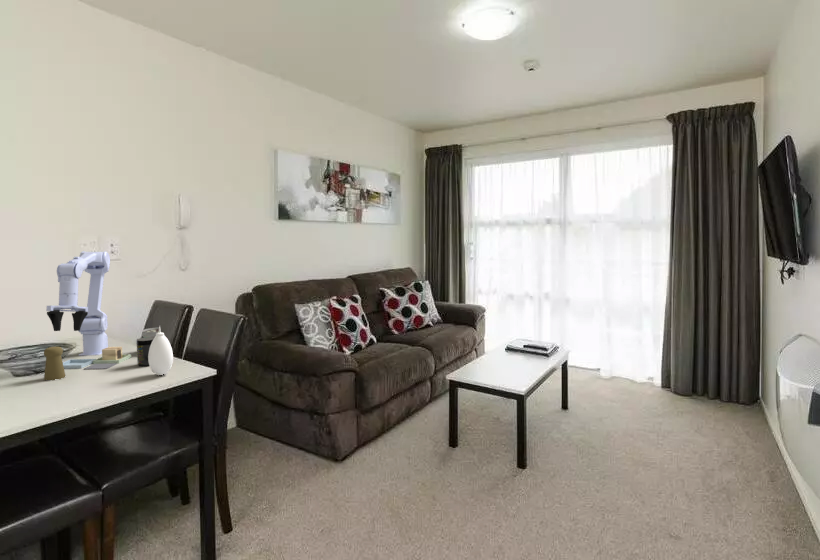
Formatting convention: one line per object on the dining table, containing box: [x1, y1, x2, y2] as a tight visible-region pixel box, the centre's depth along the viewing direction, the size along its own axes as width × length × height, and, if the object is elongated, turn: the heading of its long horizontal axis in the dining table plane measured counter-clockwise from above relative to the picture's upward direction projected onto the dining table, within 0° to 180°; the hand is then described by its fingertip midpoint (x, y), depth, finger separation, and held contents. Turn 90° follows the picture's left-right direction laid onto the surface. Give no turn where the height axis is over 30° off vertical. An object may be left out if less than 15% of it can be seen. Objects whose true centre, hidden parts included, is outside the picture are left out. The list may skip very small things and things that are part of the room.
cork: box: [43, 346, 66, 381], centre depth 158 cm, size 6×6×11 cm
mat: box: [83, 363, 118, 371], centre depth 172 cm, size 7×8×1 cm
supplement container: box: [136, 337, 155, 368], centre depth 175 cm, size 7×7×10 cm
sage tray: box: [92, 353, 132, 365], centre depth 181 cm, size 10×10×2 cm
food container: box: [141, 327, 159, 338], centre depth 195 cm, size 12×6×10 cm, turn 25°
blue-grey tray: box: [62, 358, 97, 370], centre depth 174 cm, size 10×10×2 cm
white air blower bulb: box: [148, 325, 174, 376], centre depth 162 cm, size 8×8×18 cm
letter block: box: [101, 346, 123, 360], centre depth 181 cm, size 5×5×5 cm
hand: (67, 330), depth 169 cm, fingers open, 7 cm apart
